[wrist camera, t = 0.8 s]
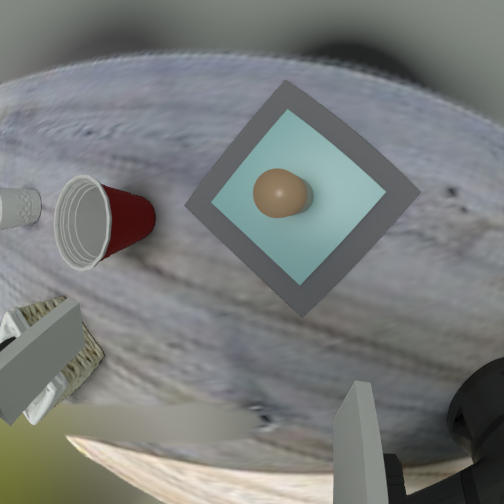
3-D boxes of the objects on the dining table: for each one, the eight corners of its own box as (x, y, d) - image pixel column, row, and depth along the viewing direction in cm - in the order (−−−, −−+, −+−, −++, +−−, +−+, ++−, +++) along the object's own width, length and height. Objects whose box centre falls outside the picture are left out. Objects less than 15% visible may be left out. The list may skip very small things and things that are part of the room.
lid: (384, 192, 30) (401, 187, 21) (301, 283, 35) (283, 313, 25) (289, 111, 32) (267, 79, 22) (214, 202, 36) (170, 203, 27)
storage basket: (65, 285, 48) (2, 306, 34) (115, 357, 47) (56, 395, 33) (36, 342, 56) (-9, 364, 42) (75, 398, 55) (32, 428, 41)
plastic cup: (152, 162, 39) (88, 154, 27) (183, 233, 39) (122, 246, 27) (103, 201, 42) (41, 205, 31) (129, 265, 42) (69, 285, 31)
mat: (419, 191, 29) (420, 191, 29) (302, 316, 36) (302, 317, 35) (286, 80, 32) (285, 79, 31) (185, 205, 38) (184, 205, 38)
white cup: (24, 190, 49) (-14, 192, 40) (41, 182, 47) (0, 183, 37) (26, 227, 50) (-11, 233, 41) (44, 223, 48) (3, 228, 38)
